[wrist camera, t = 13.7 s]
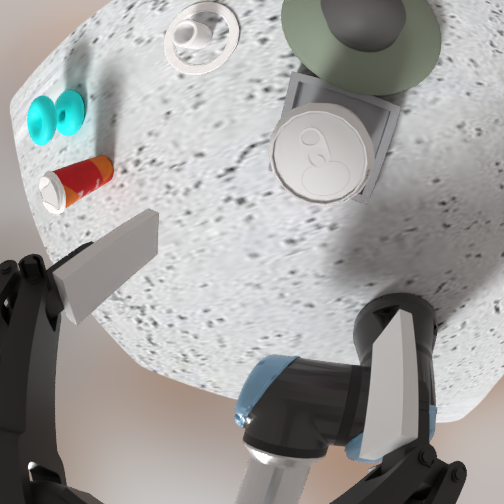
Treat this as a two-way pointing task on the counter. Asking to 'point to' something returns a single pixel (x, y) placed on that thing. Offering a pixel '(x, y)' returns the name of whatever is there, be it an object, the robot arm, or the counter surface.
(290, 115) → the supplement can
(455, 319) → the counter surface
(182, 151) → the counter surface
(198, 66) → the candle holder
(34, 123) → the donuts
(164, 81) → the counter surface
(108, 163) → the paper cup
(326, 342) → the counter surface
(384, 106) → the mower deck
